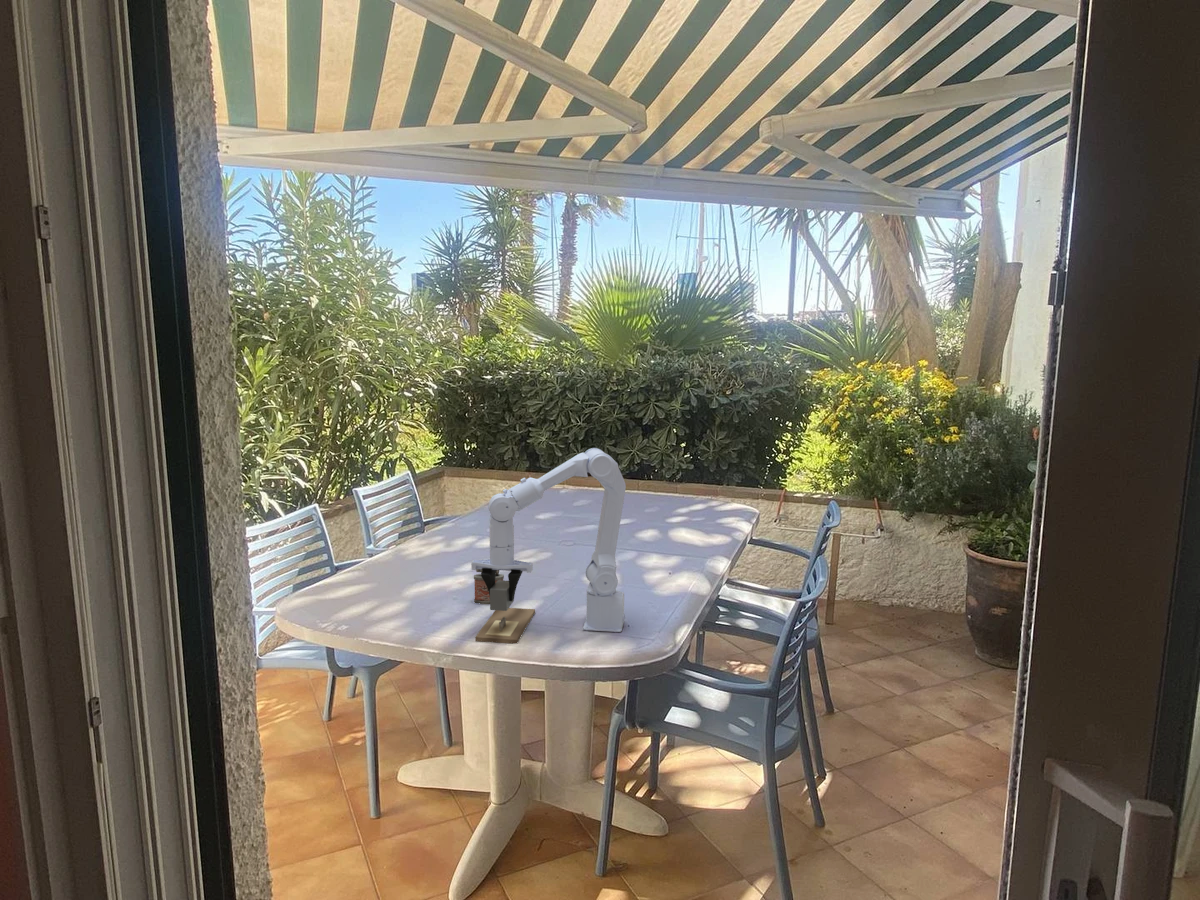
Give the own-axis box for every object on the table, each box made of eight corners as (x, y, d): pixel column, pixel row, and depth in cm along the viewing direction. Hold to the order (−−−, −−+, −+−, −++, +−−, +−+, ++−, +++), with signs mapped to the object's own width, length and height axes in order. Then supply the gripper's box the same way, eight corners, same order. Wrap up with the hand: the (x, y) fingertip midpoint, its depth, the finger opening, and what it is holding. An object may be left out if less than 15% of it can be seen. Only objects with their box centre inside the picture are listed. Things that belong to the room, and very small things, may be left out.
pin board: (535, 612, 189) (535, 601, 189) (516, 643, 169) (516, 630, 169) (497, 610, 190) (497, 599, 190) (475, 641, 171) (475, 628, 170)
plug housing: (513, 600, 178) (513, 580, 177) (506, 610, 171) (506, 590, 170) (498, 599, 178) (497, 580, 178) (490, 609, 172) (489, 589, 171)
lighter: (504, 600, 198) (504, 564, 197) (503, 604, 195) (503, 568, 194) (475, 600, 198) (474, 564, 197) (473, 604, 195) (472, 568, 193)
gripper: (535, 541, 176) (535, 595, 178) (477, 538, 178) (477, 592, 179) (528, 549, 169) (529, 605, 171) (468, 546, 171) (469, 602, 173)
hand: (502, 599), depth 175 cm, fingers closed on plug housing, 4 cm apart
